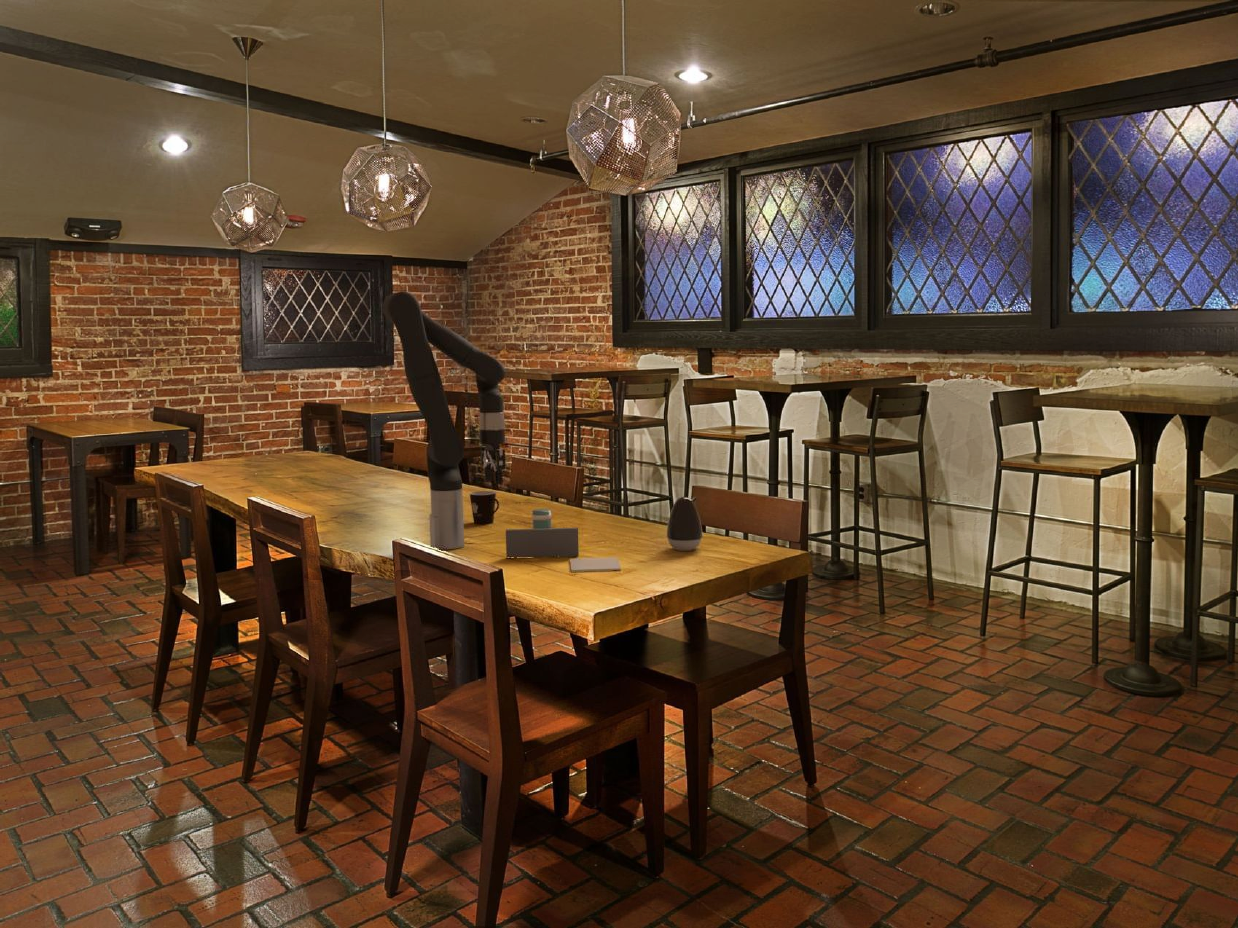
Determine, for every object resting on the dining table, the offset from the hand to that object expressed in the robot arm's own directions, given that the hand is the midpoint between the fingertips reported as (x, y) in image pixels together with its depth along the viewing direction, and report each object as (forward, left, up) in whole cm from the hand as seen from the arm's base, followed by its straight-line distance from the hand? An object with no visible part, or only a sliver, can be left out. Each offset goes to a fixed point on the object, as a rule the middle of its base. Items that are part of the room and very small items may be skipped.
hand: (493, 482), depth 295 cm
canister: (+8, -18, -18) cm, 27 cm away
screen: (+6, -25, -18) cm, 32 cm away
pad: (+15, -41, -18) cm, 47 cm away
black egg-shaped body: (+46, -34, -18) cm, 60 cm away
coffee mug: (+6, +31, -18) cm, 36 cm away
